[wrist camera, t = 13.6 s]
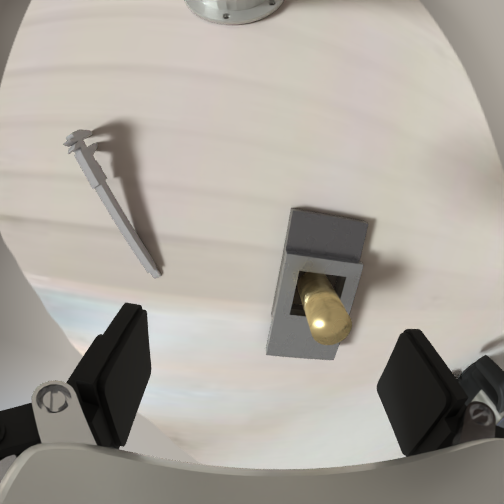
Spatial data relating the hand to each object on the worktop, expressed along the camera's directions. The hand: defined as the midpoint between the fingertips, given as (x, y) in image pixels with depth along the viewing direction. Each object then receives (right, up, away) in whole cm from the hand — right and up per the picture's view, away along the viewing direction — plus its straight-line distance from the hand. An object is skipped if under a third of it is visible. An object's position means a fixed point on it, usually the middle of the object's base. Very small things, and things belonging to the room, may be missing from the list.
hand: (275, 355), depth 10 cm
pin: (+7, 0, +27) cm, 28 cm away
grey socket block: (+7, 0, +27) cm, 28 cm away
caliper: (-17, +10, +24) cm, 31 cm away
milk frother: (+39, -22, +34) cm, 56 cm away
